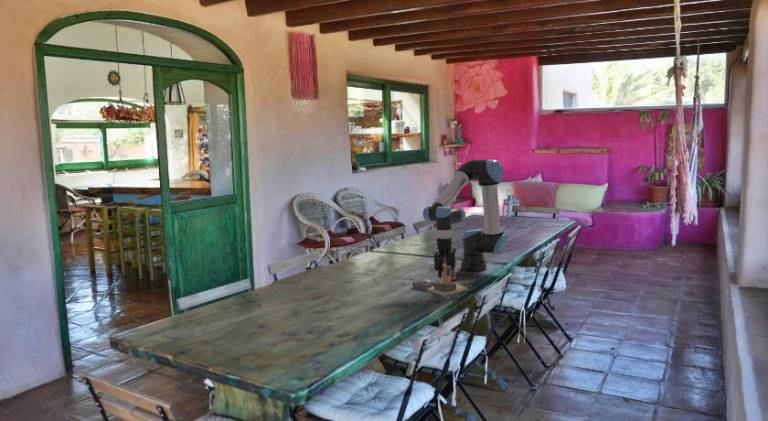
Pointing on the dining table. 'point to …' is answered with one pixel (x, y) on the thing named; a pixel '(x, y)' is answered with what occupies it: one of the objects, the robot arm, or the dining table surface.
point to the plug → (447, 274)
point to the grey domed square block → (424, 283)
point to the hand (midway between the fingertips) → (444, 282)
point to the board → (446, 289)
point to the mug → (451, 270)
